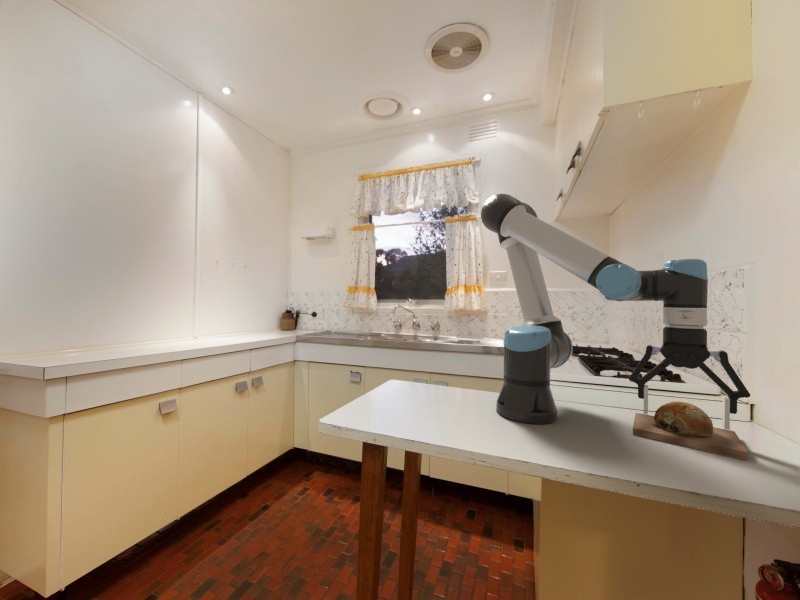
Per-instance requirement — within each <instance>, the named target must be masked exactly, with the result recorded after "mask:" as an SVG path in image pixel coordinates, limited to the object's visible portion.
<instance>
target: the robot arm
mask: <svg viewBox="0 0 800 600" xmlns="http://www.w3.org/2000/svg"><path fill="white" fill-rule="evenodd" d="M480 219H481V222H482V225H483V226H484V227H485V228H486V229H487V230H489V231H491V232H493V233H495V234H497V238H498V241H499V245H500V248H502V249H503V250H505V251H506V253H507V258H508V261H509V262H508V263H509V265H510V269H511V274H512V279H513V282H514V285H515V290H516V294H517V298H518V302H519V307H520V310H521V311H520V312H521V314H522V319H523V322H522V324H521V325H515V326H511V327H509V328H507V329H506V330H505V332H504V338H503V343H502V344H503V382H502V386H501V389H500V392H499V394H498V397H497V399H496V405H495V406H496V407H495V408H496V409H495V410H496V413H498V415H500V416H501V417H504V418H506V419H509V420H513V421H516V422H520V423H525V424H536V425H539V424H540V425H542V424H551V423H555V422H556V421H558V409H557V405H556V403H555V399H554V397H553V393H552V390H551V369H556V368H560V367H562V366H563V365H564V364H565V363H567V362H568V360H570V358H571V356H572V354H573V351H574V349H573V348H574V347H573V346H574V345H573V342H572V339H571V337H570V336H569V335H568V334H567V333H566V332H565V331H564V327H563V324H562V320H561V319H560V318H558V317H557V316H556V315H554V310H553V308H552V304H551V299H550V297H549V293H548V290H547V285H546V282H545V279H544V273H543V270H542V267H541V263H540V259H539V255H541V256H542V257H544V258H546V259H547V260H549V261H551V263H554V264H555V265H557V266H559V267H561V268H562V269H564V270H566V271H567V272H569V273H571V274H572V275H574V276H575V277H578V279H580V280H582V281H584V282H585V283H587V284H588V285H590V286H592V287H593V288H594V289H596V290H598V291H599V292H600V293H601V295H603V296H604V299H606V300H607V301H612V302H613V301H616V302H649V301H650V302H651V301H652V302H653V301H654V302H662V301H663V303H662V304H663V307H662V323H663V324H664V325H665V326H663V328H662V346H661V347H659V346H654V345H652V344H647V345H646V349H645V354H644V355H643V357H642V358H641V359H640V360H639V362H638V364H637V365H636V367H635V368H634V369H633V371H632V373H631V374H630V375H629V377H628V381H629V382H631V383H634V384H636V385H637V397H638V399H642V400H643V414H646V415H649V414H648V413H649V384H647V383H648V382H649V381H651V380H652V379H653V378H654V377H656V376H657V375H658V374H659V373H661V372H663V370H665V369H667V368H668V367H669V366H670V365H671V366H673V367H675V368H686V369H688V370H689V369H691V370H694V369H697V368H699V369H700V370H701V371H703V372H704V374H705V375H707V376H708V378H710V379H711V380H712V381H713V382H714V383H715V385H717V387H719V389H721V390H722V391H723V392H724V393H725V394H726V395H722V427H723V429H725V430H730V429H731V426H730V425H731V424H730V423H731V421H730V420H731V417H730V416H731V414H734V415H737V413H738V400H739V399H742V398H747V399H748V398H750V397H751V394H750V392H749V390H748V389H747V387H746V386H745V384H744V383H743V381H742V380H741V378H740V376H738V374H737V372H736V371H735V369H734V367H732V365H731V363H730V361H729V355H728V352H727V351H725V350H721V349H720V350H718V351H717V350H714V351H711V350H710V351H709V349H708V330H707V329H706V328H704V327H707V326H708V285H709V283H708V281H709V279H708V266H707V265H708V264H707V262H706V261H705V260H702V259H700V258H682V259H672V260H667V261H665V262H664V263H663V267H662V269H661V268H660V269H654V270H637V269H635V268H634V267H632V266H630V265H627V264H625V263H624V262H622V261H619V260H617V259H616V258H613V257H611V256H610V255H608V254H606V253H604V252H603V251H600V250H598V249H596V248H595V247H593V246H591V245H589V244H587V243H585V242H584V241H581V240H580V239H578V238H576V237H575V236H572V235H570V234H568V233H567V232H564V231H563V230H561V229H559V228H557V227H556V226H553V225H552V224H550V223H548V222H546V221H544V220H542V219H540V218H539V217H538V214H537V212H536V210H535V209H533V207H532V206H531V205H529V204H527V203H526V202H522V201H521V200H520V199H517V198H516V197H514V196H512V195H511V194H507V193H496V194H493V195H492V196H490V197H489V198H488V199H487V200H486V201H485V202H484V203H483V205H482V207H481V210H480ZM538 254H539V255H538ZM658 353H661V355H662V356H663V357H664V359H663V360H661V361H660V362H659V363H658V364H657V365H655V366H654V367H652V369H651V370H649V371H648V372H647V373H646V374H644V375H643V376H642V377H641V378H640V377H638V376H639V375H640V374H641V372H642V371H643V369H644V368H645V367H646V365H647V364H648V362H649V361H650V359H651V357H652V356H656V355H657V354H658ZM710 357H713V359H714V360H715V361H717V362H719V363H720V365H721V367H722V369H723V370H724V371H725V373H726V374H727V376H728V378H729V379H730V380H731V382H732V384H733V385H734V387H736V390H733V389H732V388H731V387H730V386H729V385H728V384H727V383H725V381H723V379H721V378H720V377H719V376H718V375H717V374H716V373H715V372H714V371H713V370H712V369H711V368H710V367H709V366H708V365H706V363H705V362H706V361H707V360H708V359H709V358H710ZM730 431H731V430H730Z"/></svg>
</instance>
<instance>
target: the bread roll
mask: <svg viewBox="0 0 800 600" xmlns="http://www.w3.org/2000/svg"><path fill="white" fill-rule="evenodd" d="M653 416H654V420H655V423H656V424H657V425H658V426H659V427H661V428H662V429H665V430H667V431H670V432H673V433H677V434H681V435H686V436H691V437H698V436H699V437H709V436H711V435H712V434H713V432H714V431H713V427H714V424H713V421H712V419H711V418H710V416H709V415H708V414H707V413H706V412H705V411H704V410H703V409H702V408H700V407H698V406H697V405H694V404H692V403H690V402H684V401H671V402H667V403H665V404H662V405H661V406H660V407H658V408H657V409H656V410H655V413H654V415H653Z"/></svg>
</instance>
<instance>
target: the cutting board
mask: <svg viewBox="0 0 800 600" xmlns="http://www.w3.org/2000/svg"><path fill="white" fill-rule="evenodd" d="M634 415H635V416H634V420H633V424H632V435H633V436H639V437H642V438H647V439H652V440H656V441H661V442H665V443H669V444H674V445H679V446H683V447H688V448H692V449H696V450H700V451H705V452H709V453H714V454H718V455H723V456H727V457H732V458H736V459H741V460H744V461H749V452H748V450H747V449H746V448H747V447H745V445H744V443H743V442H742V440H741V438H739V436H738V434H737V433H736V431H735V430H728V429H724V428H719V427H715V426H713V431H714V432H713V434H712V435H711V436H709V437H699V436H698V437H691V436H686V435H681V434H677V433H673V432H670V431H667V430H665V429H662V428H661V427H659V426H658V425H657V424H656V423H655V420H654V415H650V414H644V413H641V412H635V414H634Z"/></svg>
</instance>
